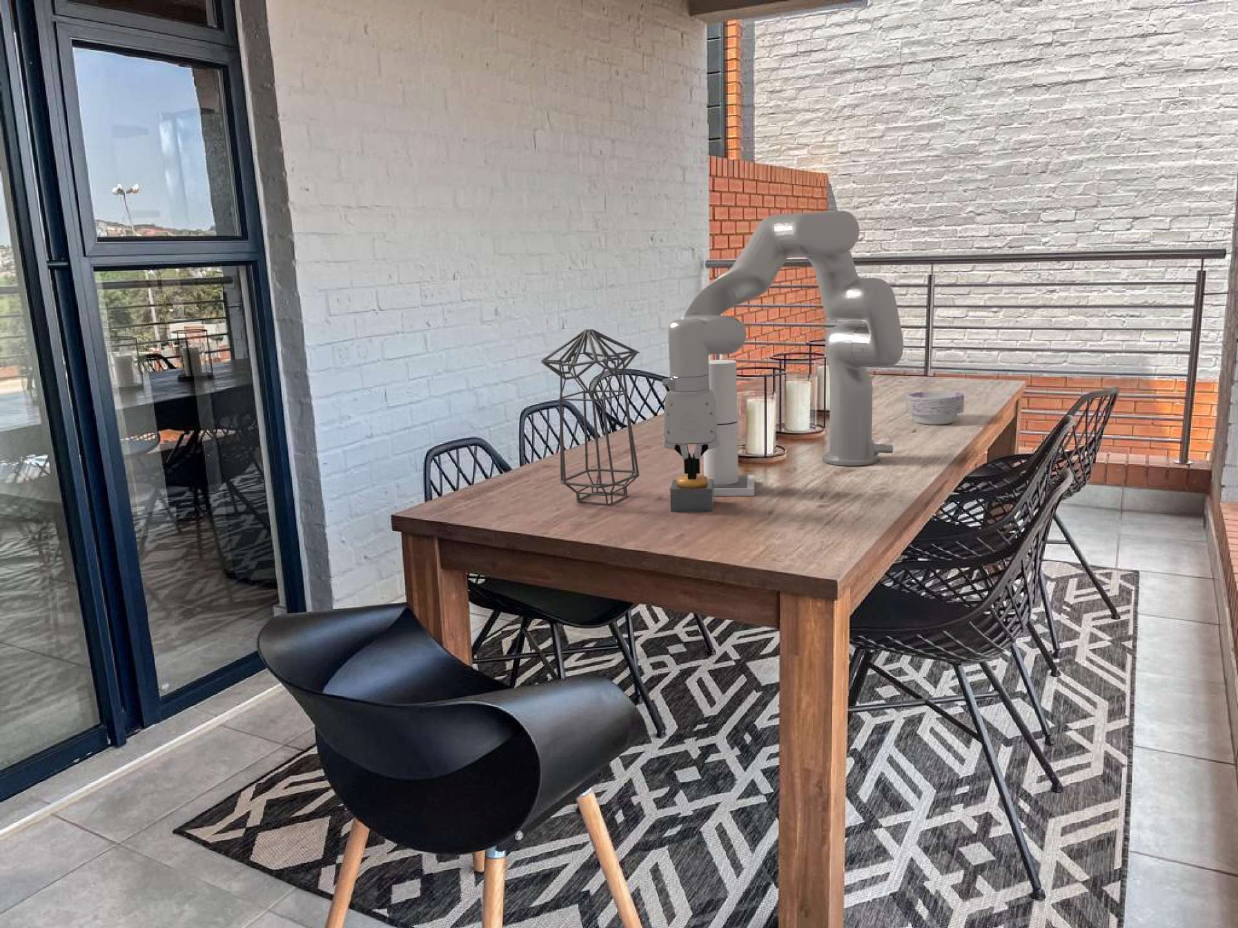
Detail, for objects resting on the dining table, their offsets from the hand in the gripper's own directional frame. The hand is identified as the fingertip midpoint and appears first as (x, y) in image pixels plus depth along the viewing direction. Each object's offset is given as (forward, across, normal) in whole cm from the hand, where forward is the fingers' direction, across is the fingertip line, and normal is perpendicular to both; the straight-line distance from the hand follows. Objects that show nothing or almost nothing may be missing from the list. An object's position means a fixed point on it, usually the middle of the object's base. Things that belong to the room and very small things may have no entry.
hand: (692, 477), depth 189 cm
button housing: (+6, 0, 0) cm, 6 cm away
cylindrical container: (+4, +5, +14) cm, 16 cm away
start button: (+5, 0, 0) cm, 5 cm away
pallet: (+6, +5, +14) cm, 16 cm away
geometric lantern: (+6, -20, +6) cm, 22 cm away
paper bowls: (+6, +61, +88) cm, 107 cm away
